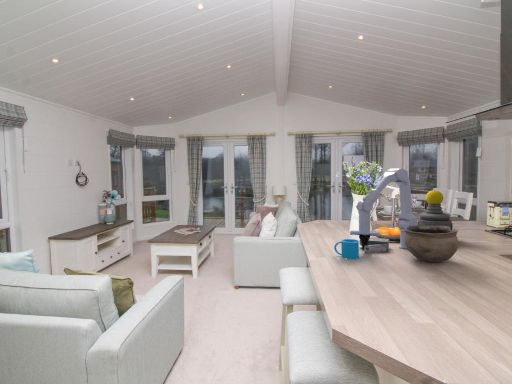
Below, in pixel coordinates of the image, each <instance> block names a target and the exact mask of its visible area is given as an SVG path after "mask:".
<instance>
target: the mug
mask: <svg viewBox="0 0 512 384" xmlns="http://www.w3.org/2000/svg"><path fill="white" fill-rule="evenodd" d="M339 244H341V252H340V251H338V250H337V246H338V245H339ZM359 246H360V240H358V239H354V238H353V239H351V238H348V239H347V238H345V239H341V241H338V242H336V243H334V247H333V249H334V251H335V253H336V254H338V255H340V256H341V258H342V257H343V259H345V258H347V259H346V260H358V259H359V258H360V253H359V252H360V251H359V250H360V249H359V248H360V247H359ZM357 258H358V259H357Z"/></svg>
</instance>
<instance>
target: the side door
mask: <svg viewBox="0 0 512 384" xmlns="http://www.w3.org/2000/svg"><path fill="white" fill-rule="evenodd" d="M363 250H364V254H365V253H376V252H377V253H379V252H389V250H388V244H381V245H365V246H364V249H363Z"/></svg>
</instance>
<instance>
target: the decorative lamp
mask: <svg viewBox="0 0 512 384" xmlns="http://www.w3.org/2000/svg"><path fill="white" fill-rule="evenodd" d="M425 200H426V202H427V204H428V205H427V207H426V210H425V212H421V213H420V214H419V218H418V219H417V222H418V226H422V225H424V226H446V227H450V230H451V231H453V230H454V229H453V222H452V221H453V220H452V219H450V218H451V215H450V214H449V213H445V212H444V210H443V208H442V203H443V201H444V194H443V193H442V192H441V191H440V190H436V189H434V190H430V191H428V192H427V193H426V195H425Z"/></svg>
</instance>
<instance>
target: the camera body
mask: <svg viewBox="0 0 512 384" xmlns="http://www.w3.org/2000/svg"><path fill="white" fill-rule="evenodd" d="M381 244H388V251H389V250H390V239H389V238H381V237H380V238H379V237H370V238H369V240H368V243H367V245H381ZM359 246H361V250H364V249H363V246H362V243H361V240H360V239H359Z"/></svg>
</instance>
